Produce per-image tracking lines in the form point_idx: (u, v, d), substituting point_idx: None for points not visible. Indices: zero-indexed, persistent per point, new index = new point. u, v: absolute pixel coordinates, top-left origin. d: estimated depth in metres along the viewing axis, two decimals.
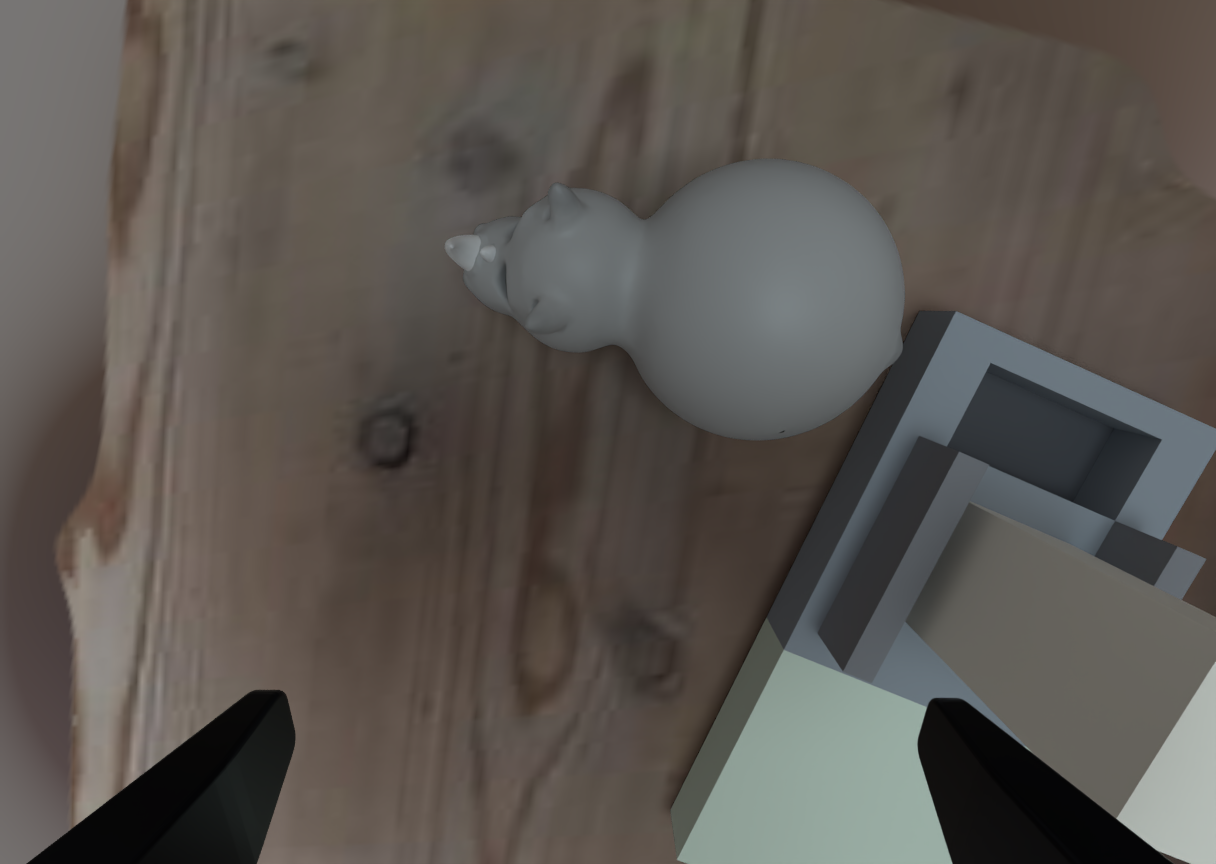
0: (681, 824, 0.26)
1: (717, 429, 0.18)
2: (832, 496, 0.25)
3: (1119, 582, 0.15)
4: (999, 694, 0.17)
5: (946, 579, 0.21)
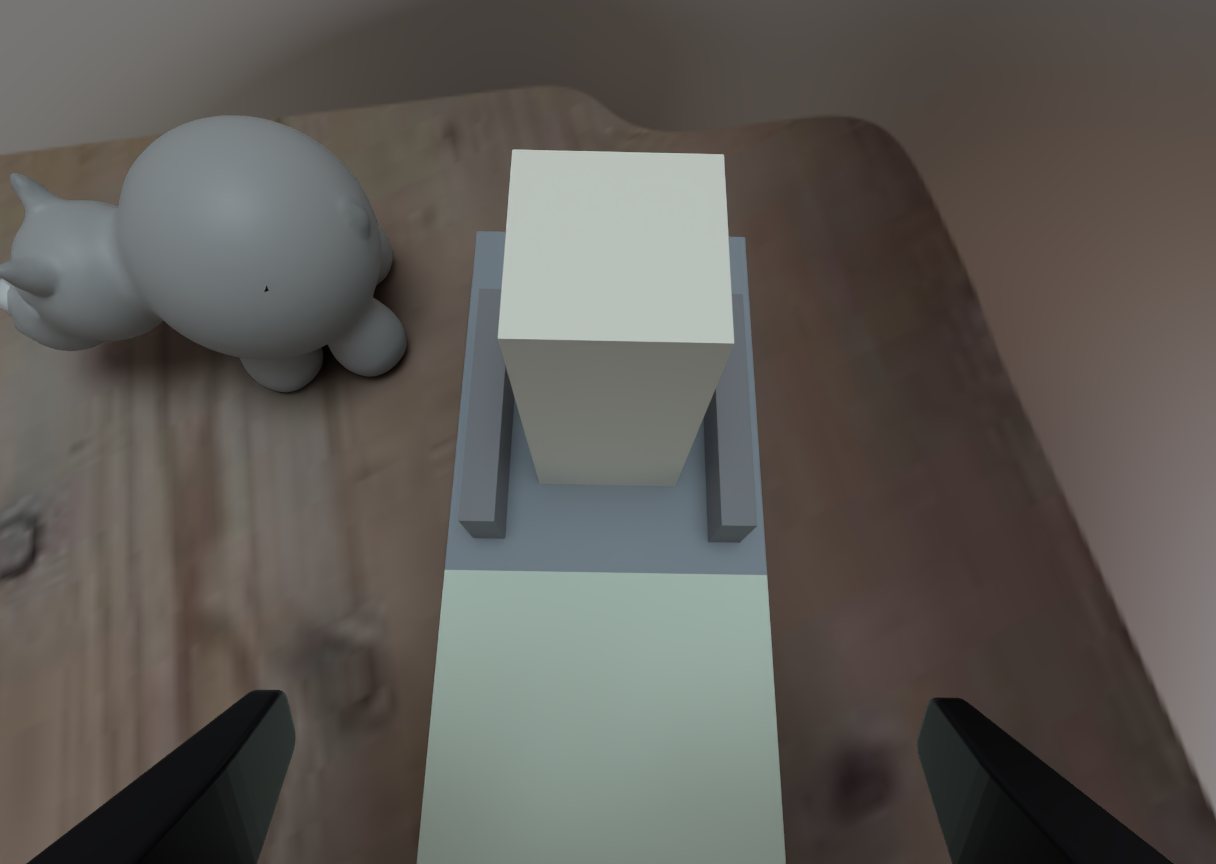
0: None
1: (218, 316, 0.19)
2: None
3: None
4: None
5: None
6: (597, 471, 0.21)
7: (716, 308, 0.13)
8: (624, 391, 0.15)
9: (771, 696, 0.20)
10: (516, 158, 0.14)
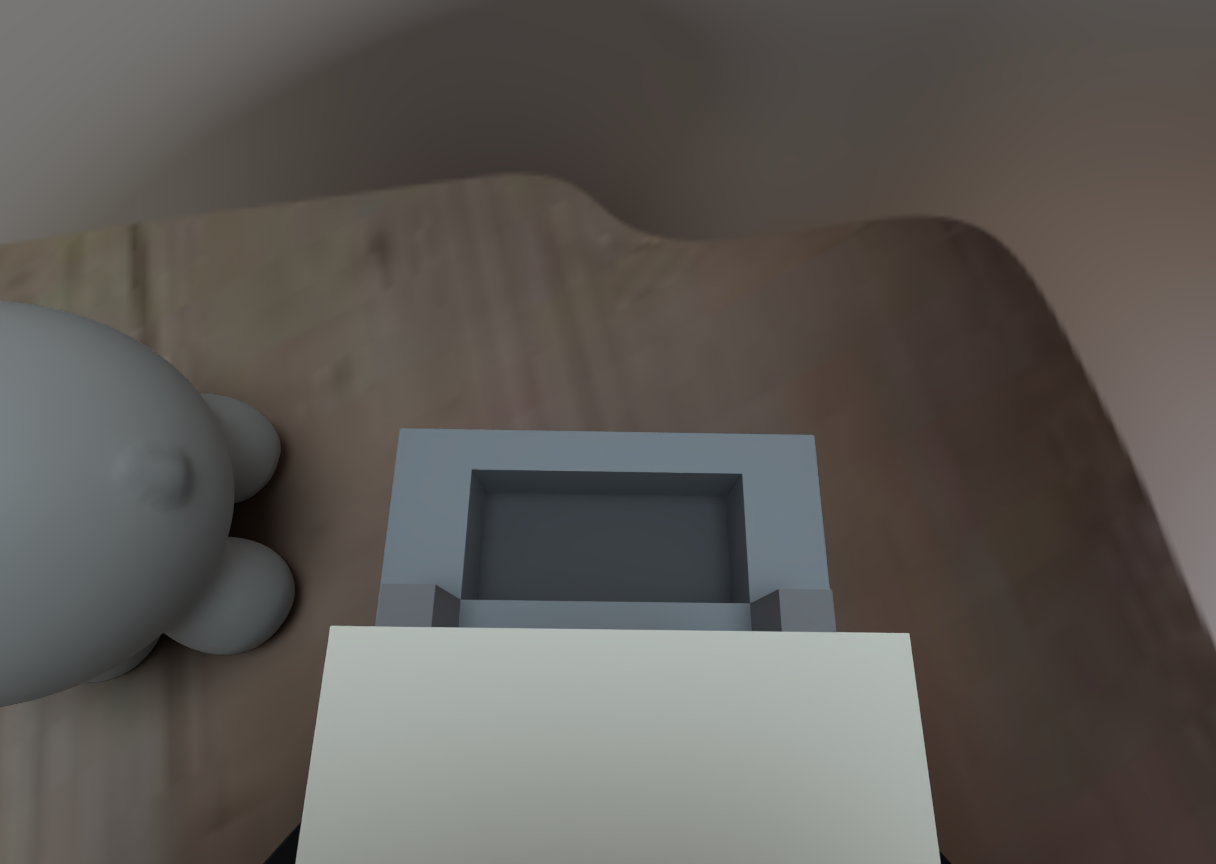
0: None
1: None
2: None
3: None
4: None
5: None
6: None
7: None
8: None
9: None
10: (338, 658, 0.05)
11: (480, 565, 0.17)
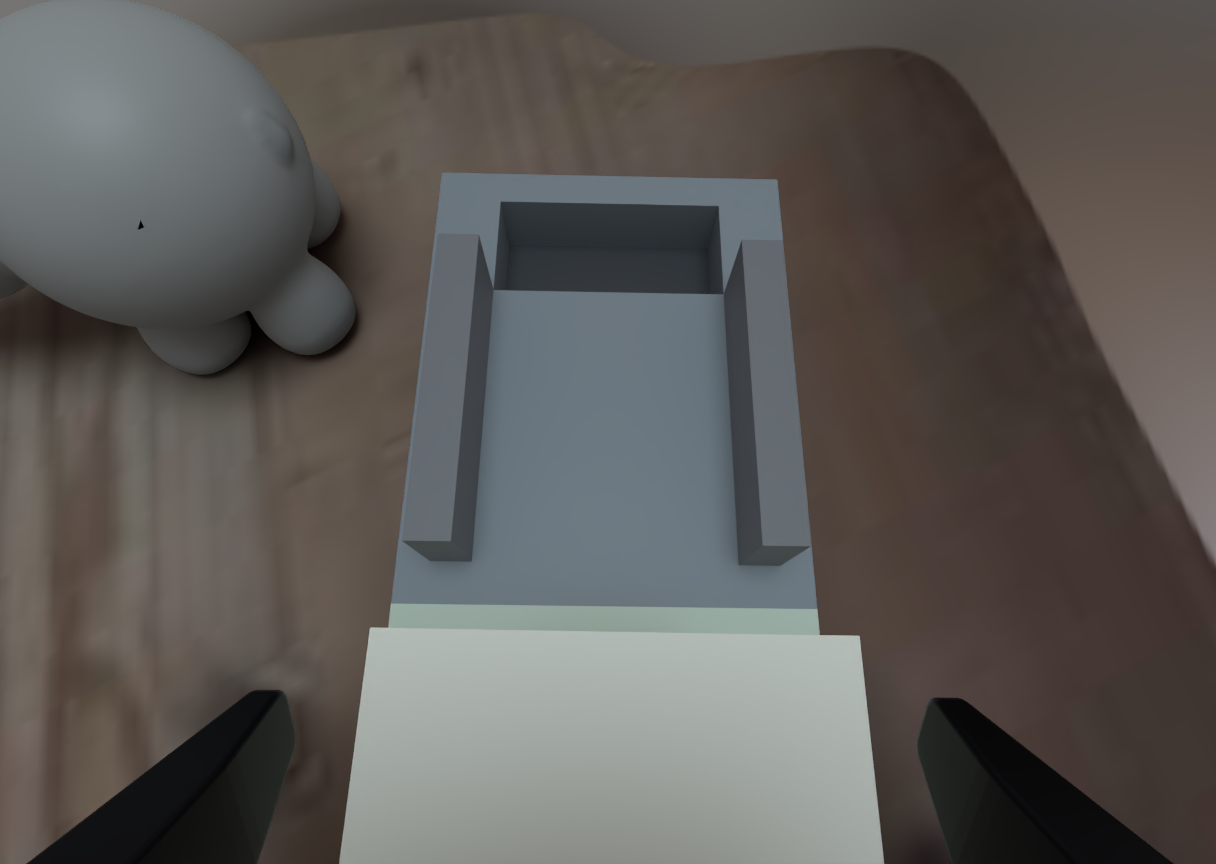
0: None
1: (76, 263, 0.14)
2: None
3: None
4: None
5: None
6: None
7: None
8: None
9: None
10: (377, 655, 0.06)
11: None
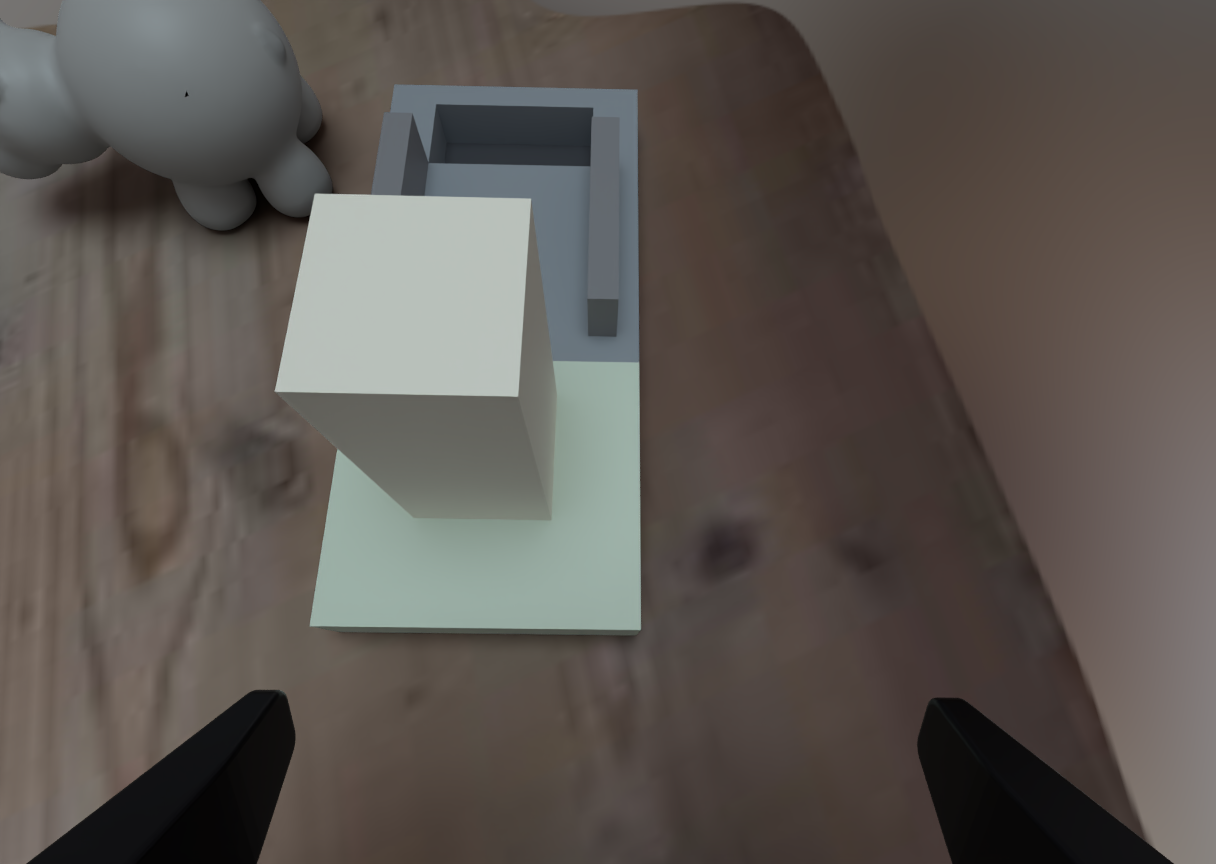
0: None
1: (144, 119, 0.22)
2: None
3: None
4: None
5: None
6: (463, 507, 0.20)
7: (504, 359, 0.13)
8: (438, 438, 0.14)
9: (636, 458, 0.22)
10: (317, 202, 0.14)
11: None
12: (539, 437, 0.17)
